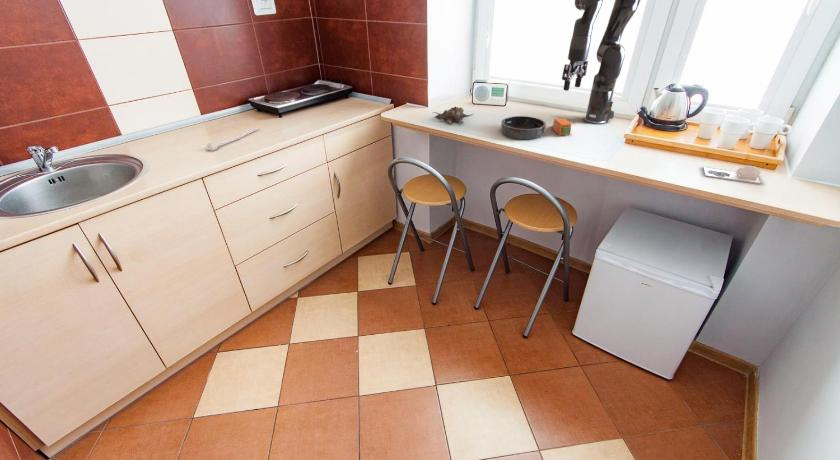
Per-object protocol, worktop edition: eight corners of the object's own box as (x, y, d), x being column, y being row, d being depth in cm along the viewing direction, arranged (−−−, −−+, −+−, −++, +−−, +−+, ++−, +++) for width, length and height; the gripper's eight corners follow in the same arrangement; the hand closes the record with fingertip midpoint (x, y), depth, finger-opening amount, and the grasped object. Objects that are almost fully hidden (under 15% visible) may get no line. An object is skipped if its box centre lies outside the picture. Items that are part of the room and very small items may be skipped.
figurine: (430, 113, 178) (433, 104, 192) (431, 126, 181) (433, 116, 196) (474, 111, 176) (473, 101, 190) (474, 124, 179) (473, 113, 193)
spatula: (253, 129, 182) (251, 123, 181) (259, 130, 181) (258, 124, 179) (205, 150, 161) (203, 143, 159) (212, 151, 159) (210, 144, 158)
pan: (536, 125, 178) (538, 115, 175) (550, 139, 162) (551, 128, 160) (496, 126, 177) (497, 116, 175) (506, 141, 162) (507, 130, 159)
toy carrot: (550, 126, 175) (552, 116, 173) (560, 126, 175) (562, 116, 173) (560, 136, 165) (562, 125, 162) (570, 136, 165) (573, 125, 162)
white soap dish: (756, 176, 129) (762, 163, 127) (760, 184, 124) (766, 171, 122) (703, 168, 135) (708, 156, 133) (705, 176, 130) (710, 163, 128)
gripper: (578, 50, 151) (570, 93, 159) (597, 46, 158) (588, 87, 167) (561, 48, 155) (554, 89, 164) (580, 44, 163) (573, 84, 172)
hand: (571, 88), depth 166 cm, fingers open, 8 cm apart
